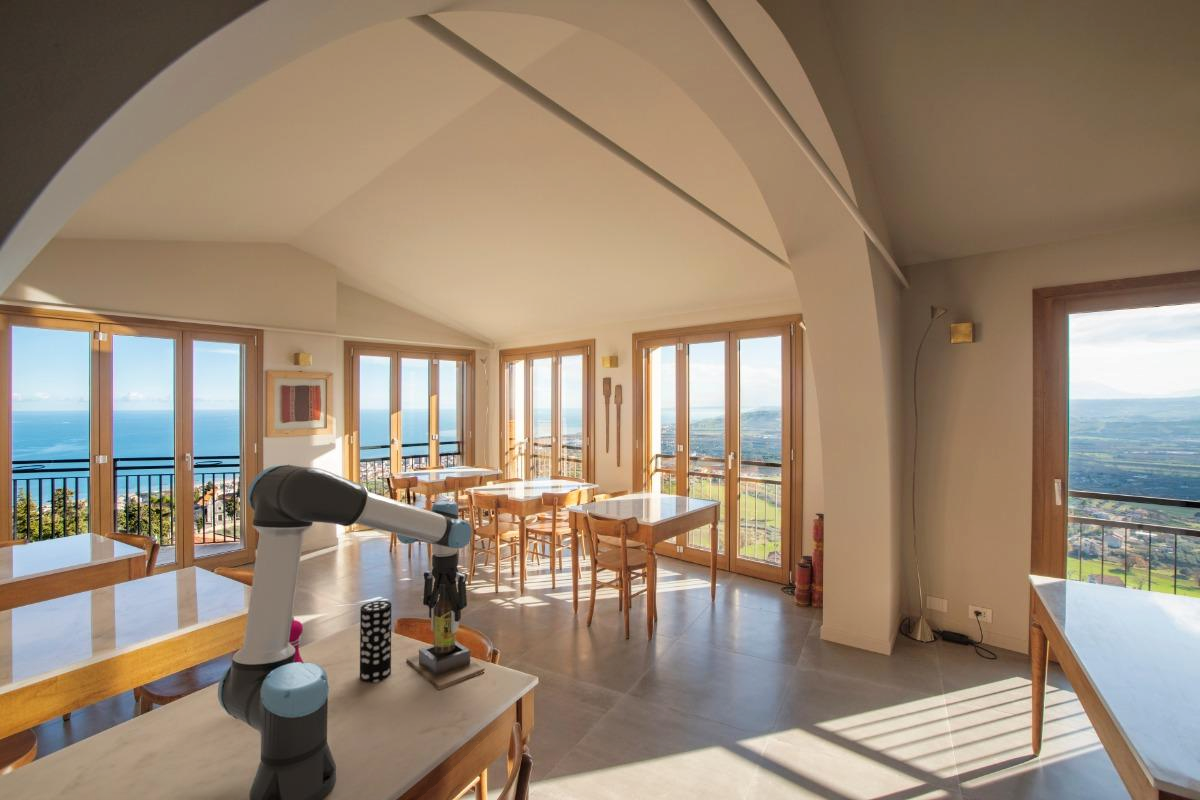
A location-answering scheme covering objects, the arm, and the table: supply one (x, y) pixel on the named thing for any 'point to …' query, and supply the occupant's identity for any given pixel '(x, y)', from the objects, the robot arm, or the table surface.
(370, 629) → the spotted tube
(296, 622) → the pepper mill
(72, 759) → the table surface
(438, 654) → the bottle socket
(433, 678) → the caddy board
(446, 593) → the sauce bottle
